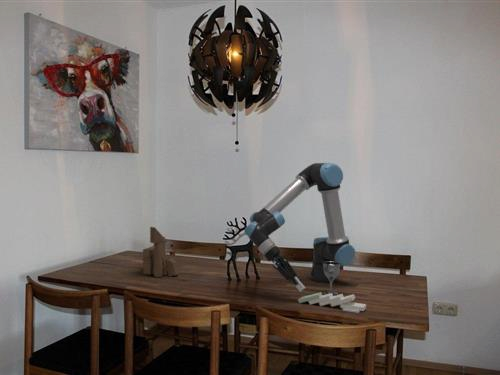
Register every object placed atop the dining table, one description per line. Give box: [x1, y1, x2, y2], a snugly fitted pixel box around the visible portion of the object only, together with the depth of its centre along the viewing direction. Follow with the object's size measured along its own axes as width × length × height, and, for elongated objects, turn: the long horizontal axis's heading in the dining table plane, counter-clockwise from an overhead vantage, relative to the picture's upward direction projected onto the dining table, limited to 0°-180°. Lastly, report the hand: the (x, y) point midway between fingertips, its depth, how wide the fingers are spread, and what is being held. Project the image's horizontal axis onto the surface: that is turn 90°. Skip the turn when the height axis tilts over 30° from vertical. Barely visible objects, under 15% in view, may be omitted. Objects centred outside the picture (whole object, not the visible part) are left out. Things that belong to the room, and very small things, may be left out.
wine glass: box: [323, 261, 341, 296], centre depth 224 cm, size 8×8×15 cm
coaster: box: [342, 308, 361, 314], centre depth 199 cm, size 8×7×1 cm
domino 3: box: [318, 293, 345, 307], centre depth 203 cm, size 2×5×10 cm
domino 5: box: [339, 301, 367, 312], centre depth 199 cm, size 2×5×10 cm
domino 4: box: [329, 293, 356, 307], centre depth 201 cm, size 2×5×10 cm
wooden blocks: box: [142, 226, 180, 278], centre depth 261 cm, size 24×20×28 cm
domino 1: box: [297, 291, 324, 304], centre depth 207 cm, size 2×5×10 cm
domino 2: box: [308, 293, 334, 305], centre depth 205 cm, size 2×5×10 cm
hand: (302, 289), depth 209 cm, fingers closed
